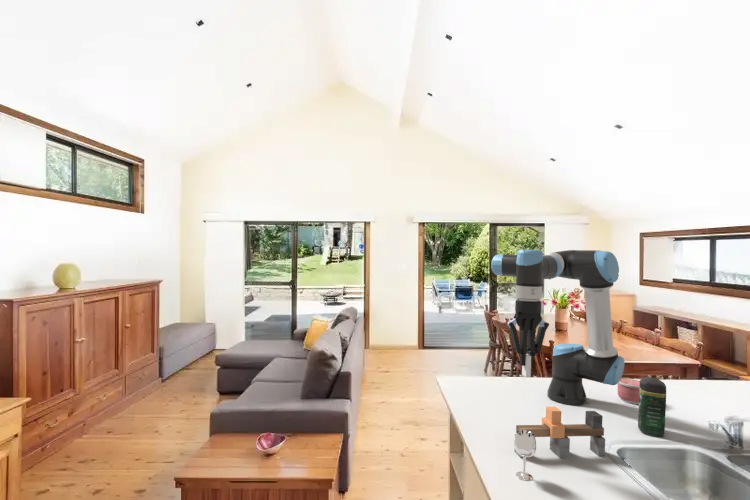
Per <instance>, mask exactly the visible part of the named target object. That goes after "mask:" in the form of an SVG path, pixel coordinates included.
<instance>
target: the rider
mask: <svg viewBox="0 0 750 500" xmlns="http://www.w3.org/2000/svg"><path fill="white" fill-rule="evenodd" d="M541 425H547V426H548V427H549V428H550V437H551V438H564V436H565V426H564V424H563V423H562V410H561V409H559V408H558V407H557V406H545V417H541ZM550 437H549V438H550Z"/></svg>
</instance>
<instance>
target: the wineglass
mask: <svg viewBox="0 0 750 500" xmlns="http://www.w3.org/2000/svg"><path fill="white" fill-rule="evenodd" d="M515 434H516V436H515V435H514V440H513V442H514V443H513V447H514V451H515V450H516V452H517V453H518V454H519V455H520V456H523V458H522V463H523V471H517V472H516V473H515V477H516V478H517V479H519V480H522V481H526V482H527V481H532V480H533V477H534V476H533V475H532V474H530V473H529V472H526V463H527V458H531V457H533V456H534V455H535V454H536V451H537V441H536V437H535V436H534V433H532V432H531V431H528V430H518V431H517V432H516V431H515ZM516 452H515V453H516ZM517 453H516V454H517ZM518 454H517V455H518ZM526 457H527V458H526Z"/></svg>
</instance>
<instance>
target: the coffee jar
mask: <svg viewBox="0 0 750 500" xmlns="http://www.w3.org/2000/svg"><path fill="white" fill-rule="evenodd" d="M639 381H640V388H639V404H638V417H637V427H638V429H639V431H640V432H641V433H644V434H646V435H648V436H652V437H664V436H665V431H666V412H667V411H666V410H667V385H666V384H665V382H664V381H662V380H660V379H659V378H656V377H650V376H645V377H642V378H640V379H639Z"/></svg>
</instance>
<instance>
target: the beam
mask: <svg viewBox="0 0 750 500" xmlns="http://www.w3.org/2000/svg"><path fill="white" fill-rule="evenodd" d="M584 414H585V415H584V416H585V419H584V420H585V421H584V423H581V424H580V423H579V424H578V423H576V424H575V423H574V424H572V423H570V424H568V423H567V424H563V425H564V426H565V436H564V438H551V437H550V428H549V427H548V426H547V425H542V424H525V425H524V424H522V425H521V424H517V425H515V433H514V437H515V436H516V432H517V431H518V430H528V431H531V432H532V433H534V436H535V438H546V437H547V438H548V437H549V450H550V451H551V452H553V453H554V455H555V456H556V457H558V458H559V459H570V447H571V446H570V445H571V444H570V442H571V439H570V437H589V438H590V441H589V450H590V451H591V452H593V453H594V454H595V455H596V456H598V457H605V456H606V455H605V454H606V453H605V452H606V438H605V437H604V435H605V427H603V415H602V414H601V413H599V412H597V411H595V410H586V411H585V413H584ZM514 452H515V453H516V455H518V457H519V458H520V459H523V456H520V455H519V454H518V453H517V452H516V450H515V449H514ZM526 459H528V457H526Z"/></svg>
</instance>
